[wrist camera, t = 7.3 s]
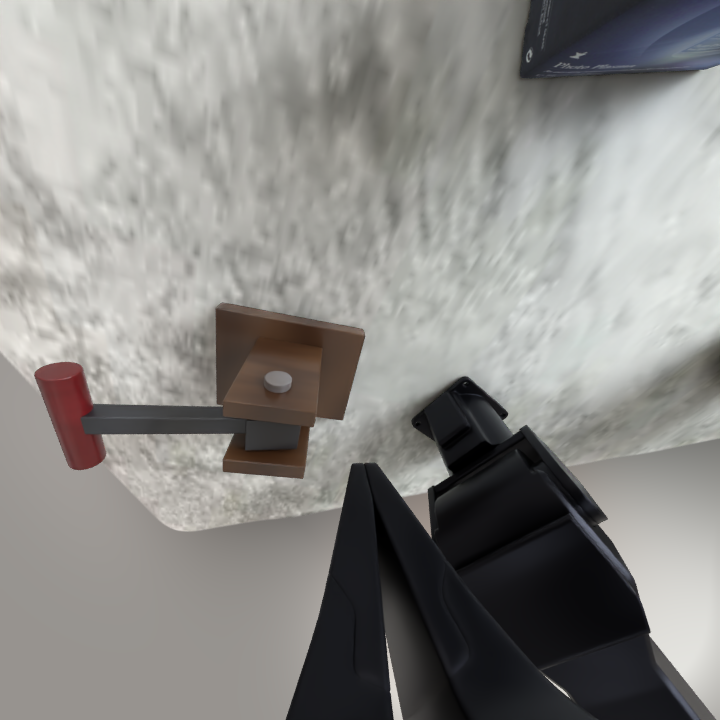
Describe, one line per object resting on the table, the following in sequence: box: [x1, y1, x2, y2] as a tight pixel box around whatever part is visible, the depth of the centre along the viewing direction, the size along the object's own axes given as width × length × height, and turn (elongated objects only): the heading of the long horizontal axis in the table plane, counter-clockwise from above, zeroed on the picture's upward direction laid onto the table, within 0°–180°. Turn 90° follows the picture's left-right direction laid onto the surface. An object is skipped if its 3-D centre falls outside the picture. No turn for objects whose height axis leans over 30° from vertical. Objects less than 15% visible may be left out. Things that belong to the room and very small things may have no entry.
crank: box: [34, 362, 301, 470], centre depth 15 cm, size 11×6×2 cm, turn 77°
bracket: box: [216, 303, 365, 479], centre depth 18 cm, size 10×8×8 cm
